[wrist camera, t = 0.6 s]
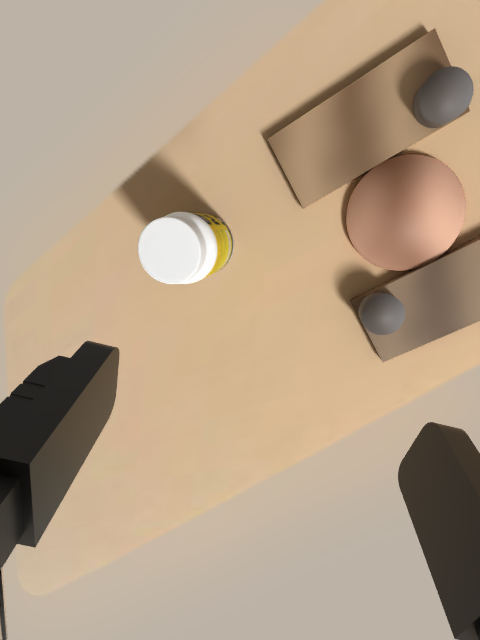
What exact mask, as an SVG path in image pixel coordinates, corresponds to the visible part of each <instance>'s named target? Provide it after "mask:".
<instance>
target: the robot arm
mask: <svg viewBox="0 0 480 640" xmlns="http://www.w3.org/2000/svg"><path fill="white" fill-rule="evenodd" d="M118 365H119V349H118V348H117V347H112V346H108V345H104V344H100V343H95V342H91V341H86V342H85V343H84V344H83V345H82V346H81V347H80V348H79V349H78V350H77V351H76V353H75V354H74V355H73V356H72V357H71V358H67V357H63V356H58V357H55V358H53V359H51V360H49V361H47V362H45V363H43V364H41V365H39V366H38V367H37V368H36V369H35V370H34V371H33V372H32V373H31V374H30V375H29V376H28V377H27V378H26V379H25V380H24V381H23V384H20V385H19V386H18V387H17V388H16V389H15V390H14V391H13V392H12V393H11V395H10V397H7V398H6V399H5V400H4V401H3V402H2V403H1V404H0V640H8V636H7V635H8V634H7V622H6V610H5V598H4V584H3V573H2V567H3V565H4V563H5V562H6V560H7V559H8V557H9V555H10V554H11V552H12V551H13V549H14V547H15V546H16V544H21V545H26V546H30V547H36V545H37V543H38V542H39V540H40V538H41V536H42V535H43V533H44V531H45V529H46V528H47V526H48V524H49V522H50V521H51V519H52V517H53V515H54V514H55V512H56V510H57V508H58V507H59V505H60V503H61V501H62V500H63V498H64V496H65V494H66V493H67V491H68V489H69V487H70V486H71V484H72V482H73V480H74V479H75V477H76V475H77V473H78V472H79V470H80V468H81V466H82V465H83V463H84V461H85V459H86V458H87V456H88V454H89V452H90V451H91V449H92V447H93V445H94V444H95V442H96V440H97V438H98V437H99V435H100V433H101V431H102V430H103V428H104V426H105V424H106V423H107V421H108V419H109V417H110V415H111V412H112V409H113V406H114V402H115V398H116V388H117V376H118ZM398 481H399V486H400V489H401V492H402V495H403V498H404V500H405V503H406V506H407V509H408V511H409V514H410V517H411V520H412V522H413V525H414V528H415V531H416V534H417V536H418V539H419V542H420V545H421V547H422V550H423V553H424V555H425V558H426V561H427V564H428V567H429V569H430V572H431V575H432V578H433V580H434V583H435V586H436V589H437V591H438V594H439V597H440V599H441V602H442V605H443V608H444V610H445V613H446V616H447V619H448V622H449V624H450V627H451V630H452V633H453V635H454V638H455V639H458V640H480V453H479V452H478V450H477V449H476V447H475V446H474V444H473V443H472V441H471V440H470V438H469V436H468V435H467V434H466V433H465V431H463V430H462V429H459V428H454V427H450V426H446V425H441V424H437V423H433V422H430V423H427V424H426V425H425V426H424V427H423V428H422V430H421V431H420V433H419V435H418V436H417V438H416V439H415V441H414V443H413V444H412V446H411V447H410V449H409V451H408V452H407V454H406V455H405V457H404V458H403V460H402V462H401V464H400V467H399V472H398Z"/></svg>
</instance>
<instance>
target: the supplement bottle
mask: <svg viewBox="0 0 480 640" xmlns="http://www.w3.org/2000/svg"><path fill="white" fill-rule="evenodd" d="M233 249H234V240H233V236H232V233H231V231H230V229H229V227H228V226H227V224H226V223H225V222H224V221H222V220H221V219H220V218H218V217H216V216H214V215H210V214H204V213H193V212H174V213H170V214H168V215H166V216H164V217H161V218H158V219H155V220H153V221H152V222H150V223H149V224H148V225H147V226H146V227H145V228H144V230H143V231H142V233H141V236H140V238H139V243H138V254H139V258H140V261H141V264H142V266H143V267H144V269H145V270H146V272H147V273H148V274H149V275H150V276H151V277H153V278H154V279H156V280H158V281H160V282H162V283H166V284H177V283H178V284H189V283H195V282H197V281H200V280H202V279H203V278H205V277H207V276H209V275H211V274H213V273H215V272H217V271H219V270H220V269H222V268H223V267H224V266H226V264H227V263H228V262H229V260H230V259H231V256H232V254H233Z"/></svg>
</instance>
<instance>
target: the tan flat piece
mask: <svg viewBox="0 0 480 640" xmlns="http://www.w3.org/2000/svg"><path fill="white" fill-rule="evenodd" d="M472 96H473V82H472V79H471V77H470V76H469V74H468V73H467V72H466V71H464V70H463V69H461V68H458V67H451V65H450V63H449V61H448V58H447V56H446V53H445V51H444V49H443V46H442V44H441V42H440V39H439V37H438V35H437V32H436V30H435V28H434V29H433V30H431V31H430V32H428V33H427V34H425V35H424V36H422V37H421V38H419V39H418V40H416V41H415V42H413V43H412V44H410V45H409V46H407V47H406V48H404V49H403V50H401V51H399V52H398V53H396V54H395V55H393V56H392V57H390V58H389V59H387V60H386V61H384V62H383V63H381V64H380V65H378V66H377V67H375V68H374V69H372V70H371V71H369V72H368V73H366V74H365V75H363V76H362V77H360V78H359V79H357V80H356V81H354V82H353V83H351V84H350V85H348V86H347V87H345V88H344V89H342V90H341V91H339V92H338V93H336V94H335V95H333V96H332V97H330V98H328V99H327V100H325V101H324V102H322V103H321V104H319V105H318V106H316V107H315V108H313V109H312V110H310V111H309V112H307V113H306V114H304V115H303V116H301V117H300V118H298V119H297V120H295V121H294V122H292V123H291V124H289V125H288V126H286V127H285V128H283V129H282V130H280V131H279V132H277V133H276V134H274V135H273V136H271V137H270V138H268V139H267V140H268V142H269V144H270V146H271V148H272V149H273V151H274V153H275V155H276V157H277V159H278V161H279V163H280V165H281V167H282V169H283V171H284V173H285V175H286V177H287V179H288V180H289V182H290V184H291V186H292V188H293V190H294V192H295V194H296V196H297V198H298V200H299V202H300V204H301V206H302V208H303V209H304V208H305V207H307V206H309V205H310V204H312V203H314V202H316V201H317V200H319V199H321V198H322V197H324V196H326V195H328V194H329V193H331V192H333V191H334V190H336V189H338V188H340V187H341V186H343V185H345V184H346V183H348V182H350V181H351V180H353V179H355V178H357V177H358V176H360V175H362V174H363V173H365V172H367V171H369V170H370V169H372V168H373V169H372V170H370V171H369V172H368V173H367V174H366V175H365V176H364V177H363V178H362V179H361V180H360V182H359V183H358V184H357V186H356V187H355V189H354V191H353V193H352V195H351V197H350V200H349V203H348V207H347V213H346V226H347V231H348V235H349V238H350V240H351V243H352V244H353V246H354V248H355V249H356V250H357V252H358V253H359V254H360V255H361V256H362V257H363V258H364V259H366V260H367V261H369V262H370V263H372V264H374V265H376V266H378V267H381V268H384V269H388V270H397V271H402V270H411V269H413V270H411V271H409V272H407V273H405V274H403V275H401V276H399V277H397V278H394V279H392V280H390V281H388V282H386V283H384V284H382V285H380V286H378V287H376V288H374V289H372V290H370V291H368V292H366V293H364V294H362V295H360V296H358V297H356V298H354V299H352V300H351V302H352V304H353V306H354V308H355V310H356V312H357V314H358V316H359V318H360V320H361V322H362V324H363V326H364V328H365V329H366V331H367V333H368V335H369V337H370V339H371V341H372V343H373V345H374V347H375V349H376V351H377V353H378V355H379V357H380V359H381V360H382V362H385V361H387V360H390V359H392V358H394V357H397V356H399V355H401V354H404V353H406V352H408V351H411V350H413V349H415V348H418V347H420V346H422V345H425V344H427V343H429V342H431V341H434V340H436V339H438V338H441V337H443V336H445V335H448V334H450V333H452V332H455V331H457V330H459V329H462V328H464V327H466V326H469V325H471V324H473V323H476V322H478V321H480V237H478V238H476V239H474V240H472V241H470V242H468V243H466V244H464V245H462V246H460V247H458V248H456V249H454V250H452V251H450V252H448V253H446V254H444V255H442V254H443V253H444V252H445V251H447V250H448V248H449V247H450V246H451V245H452V244H453V242H454V241H455V239H456V238H457V236H458V234H459V232H460V230H461V228H462V225H463V222H464V218H465V211H466V199H465V194H464V190H463V187H462V184H461V183H460V181H459V179H458V177H457V176H456V175H455V173H454V172H453V171H452V170H451V169H450V168H449V167H448V166H447V165H445V164H444V163H442V162H441V161H439V160H437V159H435V158H432V157H429V156H425V155H417V154H409V155H401V156H397V157H394V158H391V157H393V156H394V155H396V154H398V153H399V152H401V151H403V150H405V149H406V148H408V147H410V146H411V145H413V144H415V143H416V142H418V141H420V140H422V139H423V138H425V137H427V136H428V135H430V134H432V133H434V132H435V131H437V130H439V129H440V128H442V127H444V126H446V125H447V124H449V123H451V122H452V121H454V120H456V119H458V118H459V117H461V116H463V115H464V114H466V113H467V112H469V111H470V110H469V107H468V106H469V104H470V102H471V99H472ZM389 158H391V159H389ZM387 159H388V160H387ZM375 166H376V167H375Z"/></svg>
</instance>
